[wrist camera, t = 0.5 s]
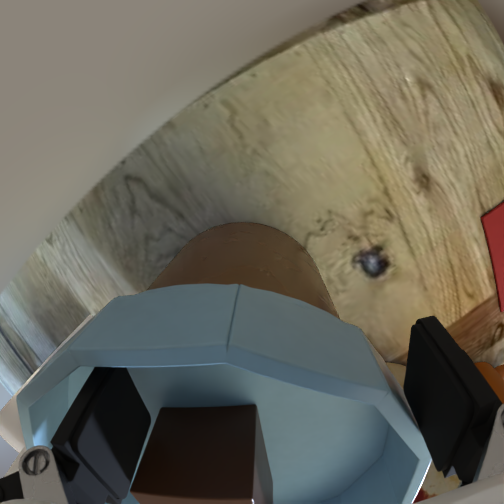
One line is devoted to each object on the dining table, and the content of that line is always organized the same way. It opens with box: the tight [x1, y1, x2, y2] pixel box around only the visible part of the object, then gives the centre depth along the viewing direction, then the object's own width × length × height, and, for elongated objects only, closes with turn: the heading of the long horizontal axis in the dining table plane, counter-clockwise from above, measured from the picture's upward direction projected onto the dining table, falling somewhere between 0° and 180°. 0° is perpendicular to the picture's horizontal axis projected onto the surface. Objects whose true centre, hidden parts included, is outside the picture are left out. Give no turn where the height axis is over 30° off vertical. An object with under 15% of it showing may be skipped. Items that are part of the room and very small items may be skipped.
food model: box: [386, 362, 460, 504], centre depth 21 cm, size 10×7×20 cm
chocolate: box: [130, 404, 273, 504], centre depth 10 cm, size 6×4×4 cm, turn 8°
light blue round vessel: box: [16, 222, 432, 504], centre depth 19 cm, size 16×16×20 cm
